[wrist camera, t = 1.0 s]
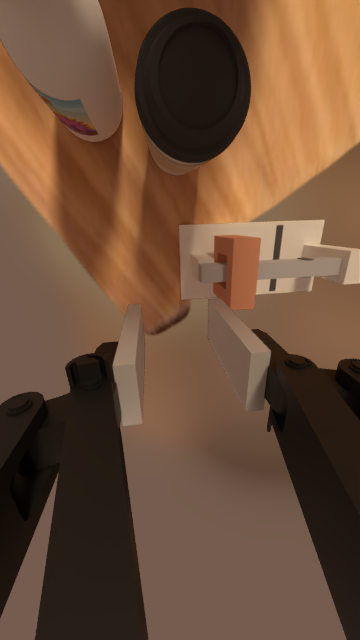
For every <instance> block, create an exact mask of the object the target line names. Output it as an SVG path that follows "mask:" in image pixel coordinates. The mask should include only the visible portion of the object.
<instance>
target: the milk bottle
mask: <svg viewBox="0 0 360 640" xmlns="http://www.w3.org/2000/svg"><path fill="white" fill-rule="evenodd" d="M0 39H1V41H2V44H3V45H4V47H5V49H6V51H7V52H8V54H9V56H10V57H11V59H12V60H13V62H14V64H15V65H16V66H17V68H18V69H19V70H20V72H21V73H22V74H23V76H24V77H25V78H26V80H27V81H28V82H29V84H30V85H31V86H32V87H33V88H34V90H35V91H36V92H37V93H38V94H39V96H40V97H41V98H42V99H43V101H44V102H45V103H46V104H47V105H48V106H49V108H50V109H51V110H52V111H53V112H54V113H55V115H56V116H57V117H58V118H59V119H60V121H61V122H62V123H63V124H64V125H65V126H66V127H67V128H68V129H69V130H70V131H71V132H72V133H73V134H74V135H76V136H77V137H79V138H81V139H83V140H86V141H90V142H99V141H103V140H105V139H107V138H109V137H110V136H112V135H113V134H114V133H115V131H116V130H117V128H118V127H119V124H120V122H121V119H122V113H123V101H122V94H121V89H120V84H119V79H118V75H117V70H116V65H115V61H114V56H113V52H112V47H111V43H110V39H109V35H108V31H107V27H106V24H105V20H104V16H103V13H102V10H101V7H100V4H99V2H98V0H0Z"/></svg>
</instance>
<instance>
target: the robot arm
mask: <svg viewBox="0 0 360 640" xmlns="http://www.w3.org/2000/svg"><path fill="white" fill-rule="evenodd" d="M208 340H209V342H210V344H211V346H212V347H213V350H214V351H215V353H216V355H217V357H218V359H219V361H220V363H221V365H222V367H223V369H224V371H225V373H226V375H227V377H228V379H229V381H230V383H231V384H232V386H233V388H234V390H235V392H236V394H237V396H238V398H239V400H240V402H241V404H242V406H243V408H244V410H245V411H255V410H263V409H264V401H265V398H266V400H267V401H268V403H269V404H270V411H269V417H268V425H267V431H268V432H270V431H271V426H272V425H273V428H274V432H275V434H276V437H277V439H278V443H279V445H280V448H281V451H282V454H283V457H284V460H285V463H286V466H287V469H288V472H289V474H290V477H291V480H292V483H293V486H294V489H295V492H296V494H297V497H298V500H299V503H300V506H301V509H302V512H303V515H304V518H305V521H306V523H307V526H308V529H309V532H310V535H311V538H312V541H313V543H314V546H315V549H316V552H317V555H318V558H319V561H320V564H321V566H322V569H323V572H324V575H325V578H326V581H327V584H328V587H329V589H330V593H331V595H332V598H333V601H334V604H335V607H336V610H337V613H338V616H339V618H340V621H341V624H342V627H343V630H344V633H345V635H346V638H347V640H360V360H359V359H358V360H357V359H344V360H341V361H340V362H339V364H338V367H337V370H330V369H321V368H318V367H317V366H316V365H315V364H314V363H313V362H312V361H311V360H309V359H307V358H305V357H303V356H299V355H293V354H288V353H287V352H286V351H285V350H284V349H283V348H282V347H281V346H280V345H279V344H277V343H276V342H275V341H274V340H273V339H272V338H271V337H270V336H269V335H268V334H267V333H265V332H263V331H261V330H259V329H253V330H250V329H249V328H248V327H247V326H246V325H245V324H244V323H243V321H242V320H241V319H240V318H239V317H238V316H237V315H236V314H235V313H234V312H233V311H232V310H231V309H230V308H229V307H228V306H227V305H226V304H225V303H224V302H223V301H222V300H221V299H209V300H208ZM144 363H145V337H144V327H143V318H142V308H141V304H133V305H128V308H127V312H126V316H125V320H124V324H123V327H122V331H121V335H120V339H119V342H107V343H102V344H101V345H100V346H99V347H98V348H97V349H96V351H95V353H91V354H85V355H81V356H79V357H77V358H74V359H72V361H70V362H69V363H68V364H67V365H66V367H65V369H66V373H67V377H68V381H69V385H70V393H68V394H66V395H63V396H60V397H57V398H53V399H50V400H47V401H45V400H44V398H43V395H42V394H40V393H38V392H27V393H22V394H18V395H16V396H13V397H12V398H10V399H8V400H7V401H5V402H3V403H2V404H1V405H0V617H1V615H2V612H3V610H4V607H5V605H6V602H7V600H8V597H9V595H10V592H11V590H12V587H13V585H14V582H15V579H16V577H17V575H18V572H19V570H20V567H21V565H22V562H23V560H24V557H25V555H26V552H27V550H28V547H29V545H30V542H31V540H32V537H33V535H34V532H35V529H36V527H37V524H38V522H39V519H40V517H41V514H42V512H43V509H44V507H45V504H46V501H47V499H48V497H49V494H50V492H51V489H52V487H53V484H54V482H55V479H56V477H57V474H58V472H59V475H58V481H57V488H56V495H55V502H54V509H53V517H52V524H51V531H50V538H49V545H48V552H47V559H46V566H45V573H44V580H43V587H42V595H41V602H40V609H39V616H38V622H37V629H36V636H35V640H148V633H147V625H146V618H145V610H144V602H143V595H142V587H141V580H140V572H139V565H138V557H137V550H136V543H135V535H134V528H133V519H132V512H131V504H130V497H129V489H128V482H127V475H126V467H125V459H124V452H123V445H122V437H121V431H120V421H121V419H122V426H130V425H139V424H143V396H144Z"/></svg>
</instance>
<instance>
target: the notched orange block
mask: <svg viewBox="0 0 360 640" xmlns="http://www.w3.org/2000/svg"><path fill="white" fill-rule="evenodd" d="M260 246H261V238H258V237H250V236H241V235H219V236H214V263H221V262H227V271H226V282H214V283H213V293H214V294H215V295H216V296H217V297H218V298H219V299H221V300H222V301H223V302H224V303H225V304H226V305H227V306H228V307H229V308H230V309H231V310H246V309H254V308H255V298H256V288H257V277H258V267H259V256H260Z"/></svg>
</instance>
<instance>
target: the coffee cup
mask: <svg viewBox="0 0 360 640" xmlns="http://www.w3.org/2000/svg"><path fill="white" fill-rule="evenodd" d="M250 96H251V79H250V71H249V66H248V62H247V59H246V56H245V53H244V51H243V48H242V46H241V44H240V42H239V40H238V39H237V37H236V36H235V34H234V33H233V32H232V30H231V29H230V28H229V27H228V26H227V25H226V24H225V23H224V22H223V21H222V20H221V19H220V18H218V17H217V16H215V15H213V14H211V13H209V12H207V11H205V10H201V9H197V8H182V9H177V10H174V11H172V12H170V13H168V14H166V15H164V16H163V17H162V18H160V19H159V20H158V21H157V22H156V23H155V24H154V25H153V26H152V28H151V29H150V30H149V32H148V33H147V35H146V37H145V39H144V41H143V43H142V46H141V48H140V52H139V55H138V60H137V67H136V73H135V100H136V106H137V110H138V114H139V117H140V120H141V123H142V126H143V130H144V133H145V137H146V141H147V144H148V147H149V149H150V152H151V155H152V157H153V159H154V161H155V163H156V164H157V165H158V167H159V168H160V169H162V170H163V171H164V172H166V173H168V174H171V175H176V176H179V175H184V174H187V173H188V172H191V171H193V170H195V169H197V168H199V167H200V166H202V165H203V164H205V163H206V162H208V161H209V160H211V159H212V158H214V157H216V156H218V155H219V154H221V153H222V152H223V151H224V150H225V149H226V148H227V147H228V146H229V145H230V144H231V143H232V141H233V140H234V138H235V137H236V135H237V134H238V132H239V131H240V129H241V127H242V125H243V123H244V121H245V118H246V116H247V112H248V108H249V103H250Z"/></svg>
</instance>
